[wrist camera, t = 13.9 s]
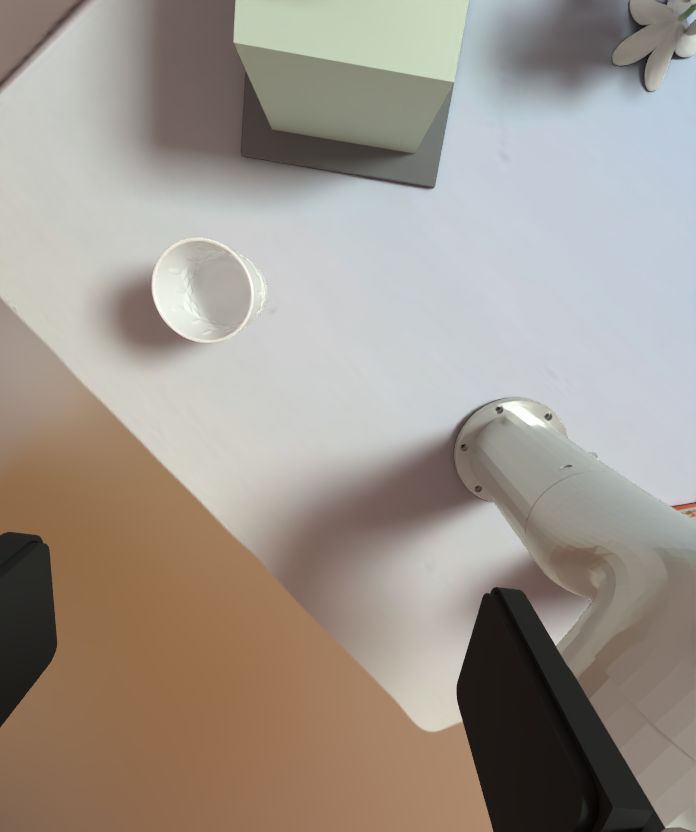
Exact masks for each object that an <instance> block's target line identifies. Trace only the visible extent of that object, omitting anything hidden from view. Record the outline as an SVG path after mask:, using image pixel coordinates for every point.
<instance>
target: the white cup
mask: <svg viewBox="0 0 696 832" xmlns="http://www.w3.org/2000/svg"><path fill="white" fill-rule="evenodd" d="M151 289H152V296H153V300H154V303H155V306H156V308H157V310H158V312H159V314H160V316H161V317H162V319H163V320H164V321H165V323H166V324H167V325H168V326H169V327H170V328H171V329H172V330H173V331H175V332H176V333H177V334H179V335H181V336H182V337H184V338H186V339H189V340H191V341H195V342H199V343H217V342H221V341H224V340H227V339H229V338H231V337H232V336H234V335H235V334H237V333H238V332H240V331H241V330H243V329H244V328H246V327H247V326H248V325H249V324H250V323H252V322H253V321H254V320H255V319H256V318H257V316H259V315H260V314H261V313H262V310H263V308H264V306H265V304H266V301H267V283H266V281H265V279H264V277H263V275H262V273H261V271H260V269H259V268H257V267H256V266H255V265H254V264H253V263H252V262H251V261H250V260H248V259H247V258H246V257H244V256H243V255H241V254H240V253H238V252H236V251H235V250H233V249H231V248H229V247H227V246H225V245H223V244H221V243H219V242H217V241H214V240H211V239H207V238H188V239H184V240H181V241H178V242H176V243H174V244H173V245H171V246H170V247H168V248H167V249H166V250H165V251H164V252H163V253H162V255H161V256H160V257H159V259H158V261H157V262H156V265H155V267H154V270H153V274H152V281H151Z"/></svg>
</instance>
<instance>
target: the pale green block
mask: <svg viewBox="0 0 696 832" xmlns="http://www.w3.org/2000/svg"><path fill="white" fill-rule="evenodd" d="M468 4H469V0H235V19H234V40H233V43H234V45H235V47H236V50H237V52H238V54H239V56H240V58H241V61H242V63H243V65H244V67H245V70H246V72H247V74H248V76H249V79H250V81H251V83H252V85H253V88H254V90H255V92H256V94H257V97H258V99H259V101H260V103H261V106H262V108H263V110H264V112H265V115H266V117H267V119H268V121H269V124H270V126H271V128H272V130H278V131H284V132H290V133H296V134H302V135H307V136H313V137H319V138H325V139H331V140H337V141H343V142H349V143H355V144H361V145H366V146H372V147H378V148H384V149H390V150H396V151H402V152H408V153H414V154H415V152H416V150H417V149H418V147H419V145H420V143H421V141H422V140H423V138H424V136H425V134H426V132H427V130H428V129H429V127H430V125H431V123H432V121H433V120H434V118H435V116H436V114H437V112H438V111H439V109H440V107H441V105H442V103H443V102H444V100H445V98H446V96H447V94H448V92H449V91H450V89H451V87H452V85H453V83H454V80H455V75H456V69H457V64H458V58H459V53H460V48H461V42H462V37H463V31H464V26H465V20H466V15H467V10H468Z"/></svg>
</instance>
